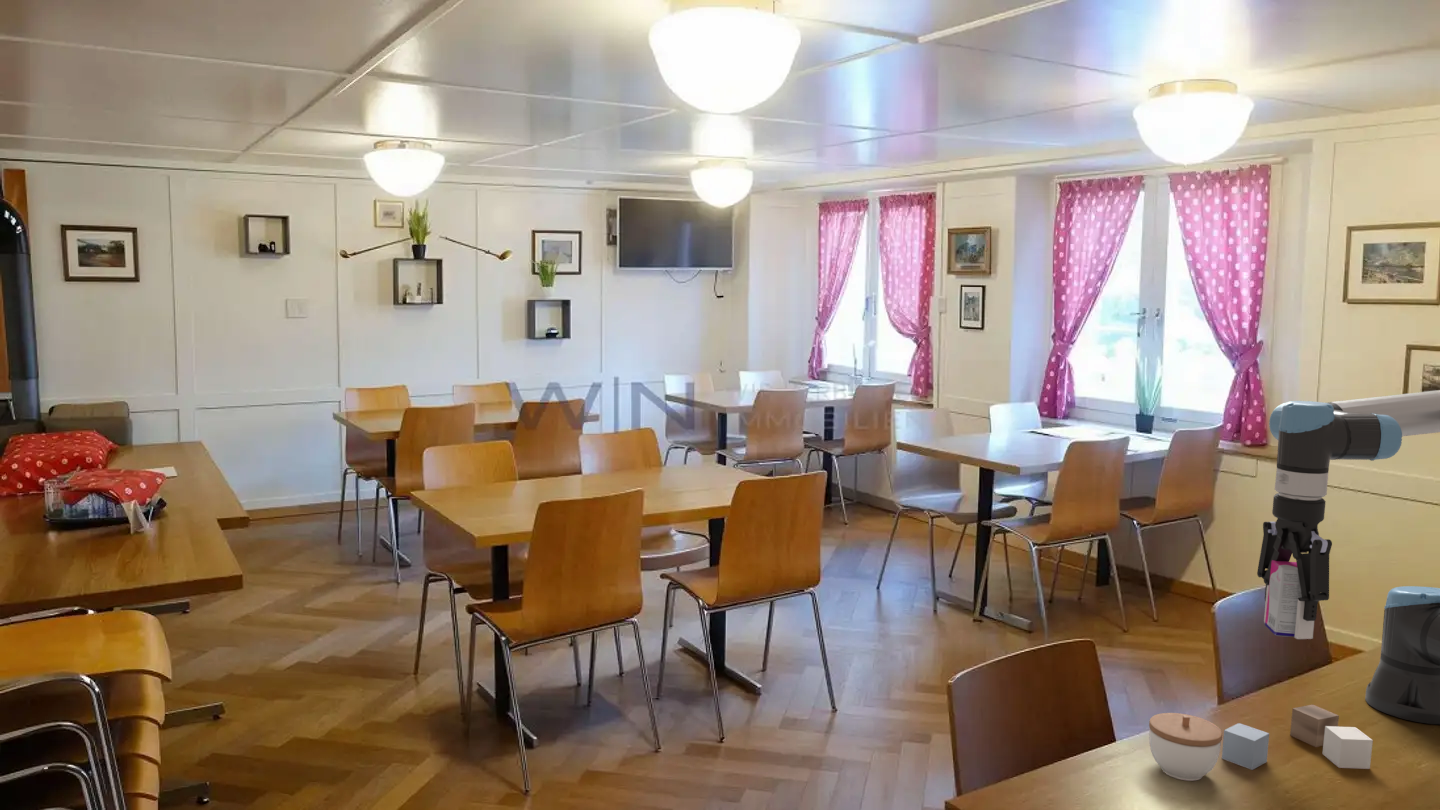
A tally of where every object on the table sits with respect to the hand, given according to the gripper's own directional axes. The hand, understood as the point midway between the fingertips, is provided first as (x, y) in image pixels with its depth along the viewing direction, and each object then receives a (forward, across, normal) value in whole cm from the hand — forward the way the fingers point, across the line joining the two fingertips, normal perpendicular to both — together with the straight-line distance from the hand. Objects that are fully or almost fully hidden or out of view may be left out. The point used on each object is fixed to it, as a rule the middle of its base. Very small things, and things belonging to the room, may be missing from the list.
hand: (1287, 630), depth 176 cm
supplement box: (0, 0, 0) cm, 0 cm away
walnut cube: (+21, -4, +9) cm, 23 cm away
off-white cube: (+21, +5, +9) cm, 23 cm away
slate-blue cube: (+21, +3, -8) cm, 23 cm away
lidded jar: (+21, +6, -21) cm, 30 cm away
